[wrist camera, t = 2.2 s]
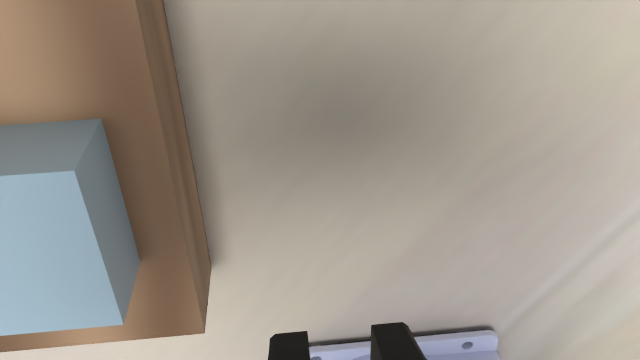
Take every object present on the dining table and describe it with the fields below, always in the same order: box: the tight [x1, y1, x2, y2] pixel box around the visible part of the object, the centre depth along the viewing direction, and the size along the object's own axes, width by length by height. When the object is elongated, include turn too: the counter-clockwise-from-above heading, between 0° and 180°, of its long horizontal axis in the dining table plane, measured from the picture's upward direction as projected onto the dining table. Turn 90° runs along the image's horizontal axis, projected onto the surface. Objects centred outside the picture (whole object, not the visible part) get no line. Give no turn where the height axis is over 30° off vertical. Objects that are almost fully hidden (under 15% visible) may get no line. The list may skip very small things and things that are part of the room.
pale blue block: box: [0, 119, 140, 336], centre depth 15 cm, size 5×5×3 cm
